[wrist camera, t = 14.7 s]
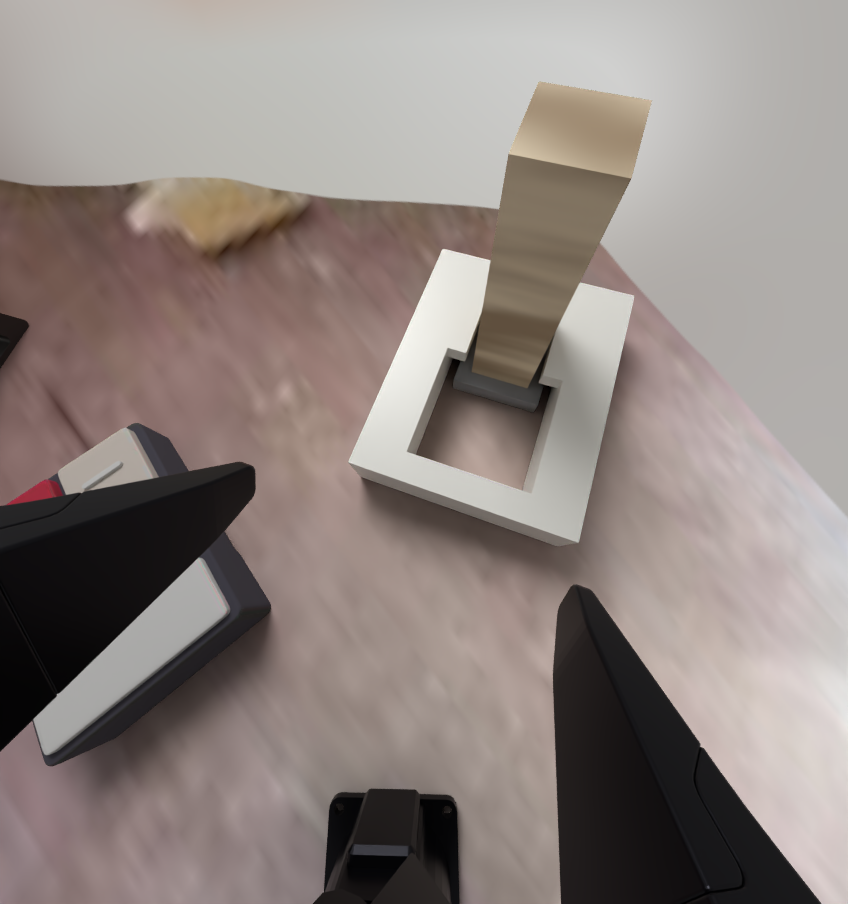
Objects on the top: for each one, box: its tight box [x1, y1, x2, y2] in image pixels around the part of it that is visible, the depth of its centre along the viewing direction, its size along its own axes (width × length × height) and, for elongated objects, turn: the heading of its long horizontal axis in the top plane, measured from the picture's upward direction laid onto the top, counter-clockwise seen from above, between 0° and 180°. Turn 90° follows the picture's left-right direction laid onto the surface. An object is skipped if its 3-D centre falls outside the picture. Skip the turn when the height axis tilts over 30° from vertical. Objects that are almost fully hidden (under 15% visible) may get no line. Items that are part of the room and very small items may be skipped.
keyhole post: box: [453, 82, 652, 412], centre depth 19 cm, size 6×6×15 cm
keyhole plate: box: [348, 249, 634, 547], centre depth 24 cm, size 17×14×4 cm
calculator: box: [7, 423, 271, 766], centre depth 21 cm, size 11×4×15 cm
